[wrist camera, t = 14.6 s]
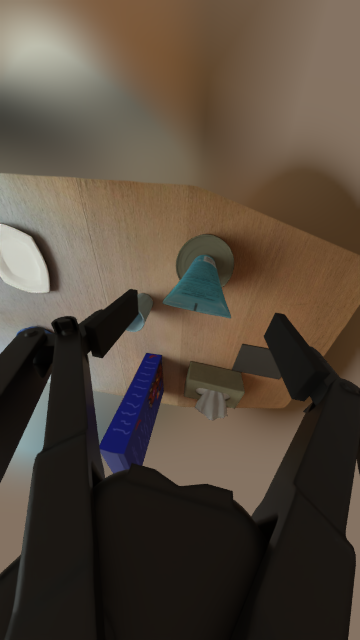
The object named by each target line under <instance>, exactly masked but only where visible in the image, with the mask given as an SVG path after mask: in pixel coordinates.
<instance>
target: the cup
mask: <svg viewBox="0 0 360 640" xmlns="http://www.w3.org/2000/svg"><path fill="white" fill-rule="evenodd" d="M152 306H153V301H152V299H151V297H150V296H149V295H147V294H144V293H141V294H139V295H138V311H139V314H138V316H137V317H136V318H135V319H134V320H133V322H132V323H131V324H130V325H129V327H128V328H127V329H126V330H127V331H130V332H136V331H139V330H141V329H142V328H143V326H144V324H145V321H146V319H147V317H148V315H149V313H150V310H151V308H152Z"/></svg>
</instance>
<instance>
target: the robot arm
mask: <svg viewBox="0 0 360 640" xmlns="http://www.w3.org/2000/svg"><path fill="white" fill-rule="evenodd" d="M138 314H139V311H138V292H137V290H133V289H129V290H128V291H127V292H126V293H124V294H123V295H122V296H121V297H119V298H118V299H117V300H115V301H114V302H113V303H112V304H110V305H109V306H108V307H107V308H105V309H104V310H102V309H101V310H98V311H96V312H94V313H93V314H92V315H91V316H89V317H88V318H86V319H85V320H84V321H82V322H81V323H80V324H78V323H77V319H76V318H75V317H73V316H64V317H60V318H58V319H55V320H54V321H53V322H52V323H51V324H52V327H53V329H54V332H55V333H46V332H45V330H44V329H43V328H41V327H33V328H29V329H25V330H24V331H22V332H20V333H19V334H18V335H17V336H16V337H15V338H14V339H13V340H12V342H11V343H10V344H9V345H8V346H7V347H6V348H5V349H4V351H3V352H2V353H1V354H0V482H1V480H2V478H3V476H4V474H5V472H6V470H7V468H8V465H9V463H10V461H11V459H12V457H13V455H14V452H15V450H16V448H17V446H18V444H19V441H20V439H21V437H22V435H23V433H24V430H25V429H26V427H27V424H28V422H29V420H30V418H31V416H32V414H33V412H34V409H35V407H36V405H37V403H38V401H39V399H40V396H41V394H42V392H43V390H44V388H45V386H46V383H47V381H48V379H49V377H50V375H51V383H50V393H49V401H48V411H47V420H46V429H45V438H44V446H43V449H42V451H41V452H40V453H38V454H37V457H36V459H35V463H34V466H33V473H32V480H31V487H30V495H29V502H28V510H27V516H26V523H25V531H24V538H23V545H22V552H21V555H20V556H19V557H18V558H17V559H16V560H15V561H13V562H12V563H11V564H10V565H9V566H8V567H7V568H6V569H5V570H4V571H3V572H2V573H1V574H0V640H348V635H349V625H350V616H351V606H352V596H353V586H354V577H355V567H356V554H355V551H354V548H353V546H352V545H351V544H350V542H349V541H348V540H347V538H346V525H347V518H348V512H349V505H350V498H351V491H352V485H353V478H354V472H355V465H356V459H357V463H358V469H359V474H360V388H359V387H358V386H356V385H355V384H353V383H352V382H350V381H347V380H345V379H341V378H340V377H339V376H338V375H337V373H336V372H335V371H334V370H333V369H332V367H331V366H330V365H329V364H328V363H327V361H326V360H325V359H324V358H323V356H322V355H321V354H320V353H319V352H318V351H317V350H316V349H314V348H313V347H310V346H309V345H308V344H307V343H306V341H305V340H304V339H303V337H302V336H301V335H300V334H299V332H298V331H297V330H296V329H295V327H294V326H293V325H292V323H291V322H290V321H289V320H288V318H287V317H286V316H285V315H284V314H280V313H275V315H274V317H273V319H272V321H271V323H270V325H269V327H268V329H267V331H266V333H265V335H264V338H265V340H266V343H267V345H268V347H269V349H270V352H271V354H272V356H273V358H274V361H275V363H276V365H277V367H278V369H279V372H280V374H281V376H282V378H283V381H284V383H285V385H286V387H287V389H288V392H289V394H290V396H291V398H292V399H295V400H300V401H305V400H306V399H307V398H308V397H309V396H310V397H311V399H312V401H313V402H312V403H311V404H310V405H309V406H308V407H307V408H306V409H305V410H304V411H303V412H305V415H304V417H303V420H302V421H301V424H300V426H299V428H298V430H297V432H296V434H295V436H294V438H293V440H292V442H291V444H290V446H289V448H288V450H287V452H286V454H285V456H284V458H283V460H282V462H281V464H280V466H279V468H278V470H277V472H276V475H275V476H274V478H273V480H272V482H271V484H270V487H269V489H268V491H267V493H266V495H265V497H264V499H263V500H262V502H261V503H260V505H259V506H258V507H257V508H256V510H255V511H254V513H253V514H252V516H250V515H249V514H248V512H247V511H246V510H245V509H244V508H243V507H242V506H241V505H239V504H238V503H237V502H236V501H235V500H233V491H230V490H227V489H223V488H220V487H216V486H213V485H209V484H199V485H189V486H178V485H176V484H175V483H174V482H172V481H171V480H169V479H168V478H166V477H165V476H164V475H162V474H161V473H159V472H158V471H156V470H155V469H152V468H148V467H145V466H141V465H138V464H134V463H131V466H130V469H127V470H122V471H118V472H116V473H114V474H112V475H110V476H108V477H106V478H105V475H104V468H103V464H102V459H101V454H100V447H99V439H98V432H97V424H96V415H95V407H94V399H93V391H92V383H91V375H90V367H89V359H88V355H87V354H88V353H89V352H90V351H91V352H92V356H94V357H99V358H103V357H104V356H105V354H106V353H107V352H108V351H109V350H110V348H111V347H112V346H113V345H114V344H115V342H116V341H117V340H118V339H119V337H120V336H121V335H122V334H123V333H124V331H125V330H126V329H127V328H128V327H129V325H130V324H131V323H132V322H133V320H134V319H135V318H136V317H137V316H138Z"/></svg>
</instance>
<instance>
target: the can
mask: <svg viewBox="0 0 360 640" xmlns="http://www.w3.org/2000/svg"><path fill="white" fill-rule="evenodd" d="M200 255H208V256H210V257H212V258H213V260H214V261H215V264H216V268H217V273H218V277H219V281H220V284H221V288H222V287H224V286H225V285H226V283H227V282H228V281H229V279H230V278H231V275H232V273H233V269H234V257H233V254H232V251H231V249H230V247H229V246H228V245H227V244H226V243H225V242H224V241H223V240H222V239H220V238H219V237H217V236H215V235H211V234H203V235H199V236H196V237H194V238H192V239H190V240H189V241H188V242H186V243H185V244H184V246H183V247H182V248H181V250H180V251H179V254H178V256H177V260H176V271H177V275H178V278H179V280H181V279H182V277H183V276H184V275H185V273H186V272H187V270H188V269H189V267H190V266H191V264H192V263H193V261H194V260H195V258H197V257H198V256H200Z"/></svg>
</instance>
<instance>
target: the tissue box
mask: <svg viewBox="0 0 360 640" xmlns="http://www.w3.org/2000/svg"><path fill="white" fill-rule="evenodd" d="M244 393H245V391H244V386H243V381H242V376H241V372H236V371H232V370H227V369H223V368H219V367H214V366H210V365H205V364H201V363H197V362H192V361H191V362H190V366H189V370H188V374H187V378H186V382H185V388H184V396H185V397H189V398H193V399H197V400H198V401H197V403H196V406H195V408H196V409H197V410H198V411H199V412H201V413H202V414H204V415H205V416H206V417H207V418H208V419H209V420H215V419H217V418H224V417H225V416H227V409H226V407H230V408H236V406H237V404H238V403H239V401H240V400H241V398H242V396H243V395H244Z"/></svg>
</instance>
